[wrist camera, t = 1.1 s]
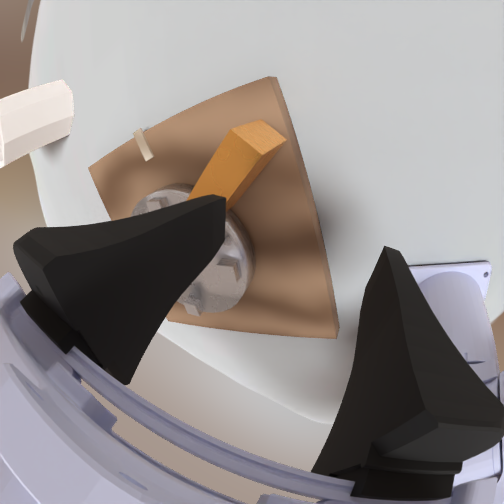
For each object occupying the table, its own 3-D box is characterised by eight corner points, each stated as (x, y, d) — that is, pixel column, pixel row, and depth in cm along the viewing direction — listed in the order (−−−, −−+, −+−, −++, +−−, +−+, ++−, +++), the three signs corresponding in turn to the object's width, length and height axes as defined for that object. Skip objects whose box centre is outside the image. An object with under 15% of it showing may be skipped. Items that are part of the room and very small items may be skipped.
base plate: (339, 327, 24) (336, 340, 23) (174, 313, 35) (167, 322, 34) (274, 71, 15) (265, 70, 13) (96, 159, 26) (85, 165, 24)
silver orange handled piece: (215, 314, 28) (188, 352, 24) (132, 240, 27) (97, 269, 23) (358, 192, 15) (350, 236, 11) (211, 72, 14) (153, 74, 10)
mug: (77, 83, 21) (2, 107, 13) (73, 147, 26) (8, 180, 19) (40, 73, 22) (-18, 94, 14) (37, 125, 27) (-15, 150, 20)
